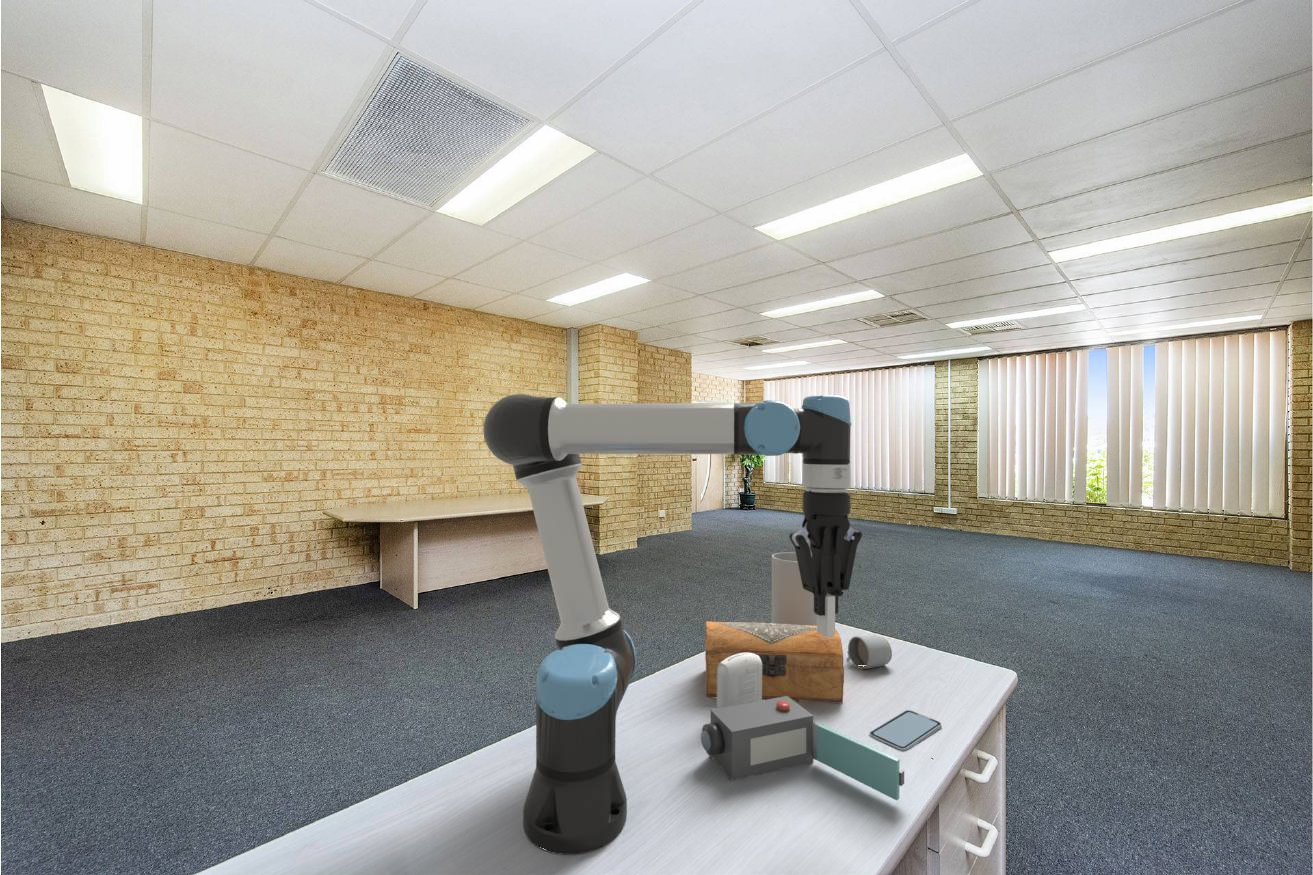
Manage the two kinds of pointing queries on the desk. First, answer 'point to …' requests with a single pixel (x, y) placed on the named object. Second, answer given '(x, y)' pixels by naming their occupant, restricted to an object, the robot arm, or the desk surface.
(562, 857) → the desk surface
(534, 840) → the robot arm
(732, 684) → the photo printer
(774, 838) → the desk surface
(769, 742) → the camera body
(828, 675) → the wooden box
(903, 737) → the smartphone
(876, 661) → the ceramic mug
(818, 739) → the side door
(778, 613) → the cylinder vase
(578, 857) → the desk surface
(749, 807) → the desk surface
